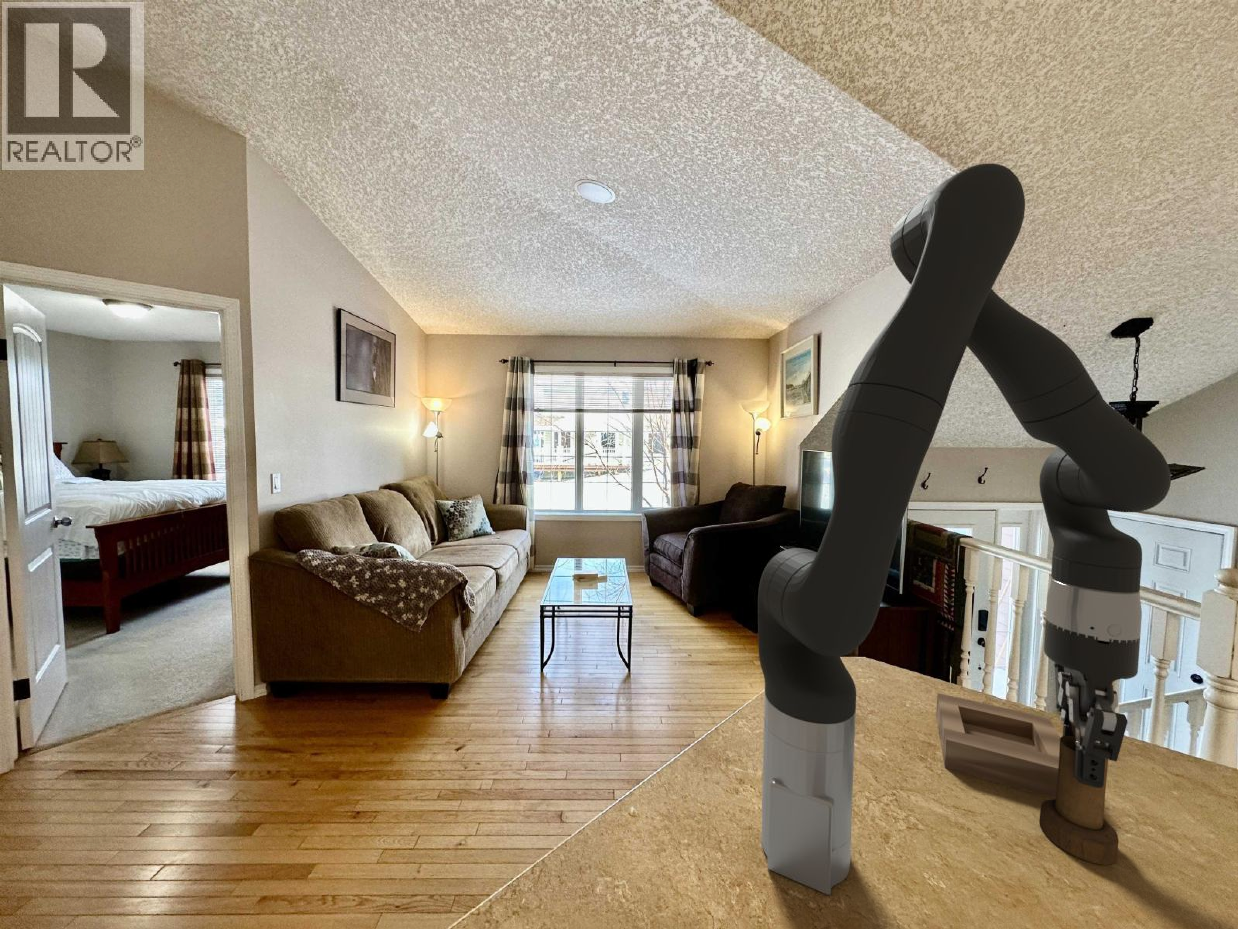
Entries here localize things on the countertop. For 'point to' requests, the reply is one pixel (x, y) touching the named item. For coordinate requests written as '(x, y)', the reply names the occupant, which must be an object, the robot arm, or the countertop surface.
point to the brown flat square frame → (999, 744)
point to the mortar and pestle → (1078, 812)
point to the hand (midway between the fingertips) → (1081, 770)
